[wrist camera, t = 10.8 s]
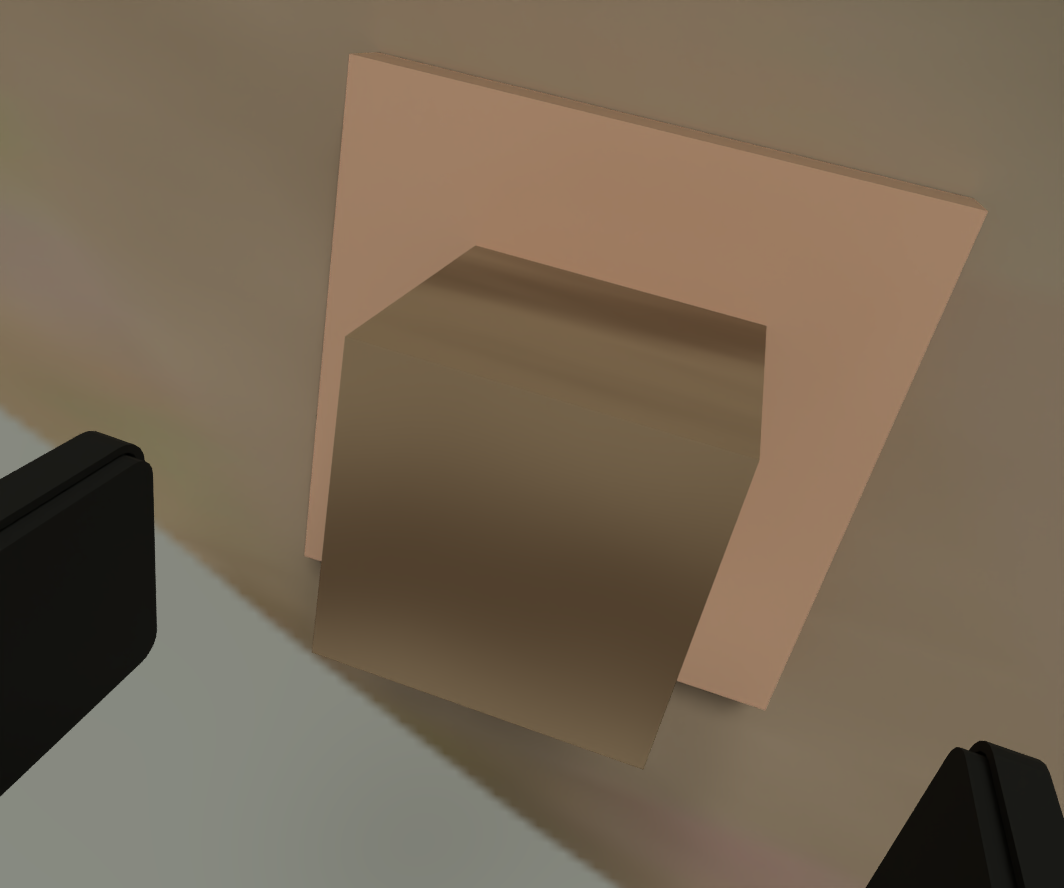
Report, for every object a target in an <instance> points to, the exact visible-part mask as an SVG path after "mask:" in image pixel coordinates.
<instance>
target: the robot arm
mask: <svg viewBox="0 0 1064 888" xmlns="http://www.w3.org/2000/svg"><path fill="white" fill-rule="evenodd" d="M156 633H157V617H156V579H155V537H154V497H153V472H152V468H151V466H150V464H149V463H147V462H145V460H144V454H143V452H142V451H141V449H140V448H139V447H137V446H136V445H134V444H131V443H128V442H125V441H122V440H120V439H117V438H114V437H111V436H108V435H105V434H102V433H99V432H97V431H87V432H85V433H82V434H80V435H78V436H76V437H74V438H73V439H71V440H69V441H67V442H66V443H64V444H62V445H60V446H58V447H57V448H55V449H53V450H51V451H49V452H48V453H46V454H44V455H42V456H41V457H39V458H37V459H35V460H34V461H32V462H30V463H28V464H26V465H25V466H23V467H21V468H19V469H18V470H16V471H14V472H12V473H10V474H9V475H7V476H5V477H3V478H1V479H0V796H1V795H2V794H3V793H4V792H5V791H6V790H7V789H9V788H10V787H11V786H12V785H13V784H14V783H15V782H16V781H17V780H18V779H19V778H20V777H21V776H22V775H23V774H24V773H25V772H26V771H28V770H29V768H31V767H32V766H33V765H34V764H35V763H36V762H37V761H38V760H39V759H40V758H41V757H42V756H43V755H44V754H45V753H47V752H48V751H49V749H51V748H52V747H53V746H54V745H55V744H56V743H57V742H58V741H59V740H60V739H61V738H62V737H63V736H64V735H65V734H66V733H67V732H69V731H70V730H71V729H72V728H73V727H74V726H75V725H76V724H77V723H78V722H79V721H80V720H81V719H82V718H83V717H84V716H85V715H87V713H89V712H90V711H91V710H92V709H93V708H94V707H95V706H96V705H97V704H98V703H99V702H100V701H101V700H102V699H103V698H104V697H105V696H106V695H107V694H109V692H111V691H112V690H113V689H114V688H115V687H116V686H117V685H118V684H119V683H120V682H121V681H122V680H123V679H124V678H125V677H126V676H127V675H129V674H130V673H131V672H132V671H133V670H134V669H135V668H136V667H137V666H138V665H139V664H140V663H141V662H142V661H143V660H144V659H145V658H146V657H147V655H148V654H149V652H150V650H151V648H152V646H153V644H154V642H155V638H156ZM866 888H1064V818H1063V815H1062V811H1061V808H1060V805H1059V802H1058V798H1057V795H1056V792H1055V789H1054V785H1053V782H1052V779H1051V776H1050V773H1049V771H1048V768H1047V766H1046V765H1045V764H1044V763H1043V762H1042V761H1041V760H1038V759H1036V758H1033V757H1030V756H1027V755H1024V754H1021V753H1018V752H1015V751H1013V750H1010V749H1007V748H1004V747H1001V746H998V745H995V744H992V743H990V742H987V741H979V742H977V743H975V744H974V745H973V746H972V747H971V748H970V750H966V749H963V748H960V747H956V748H954V749H953V750H952V751H951V752H950V753H949V754H948V756H947V757H946V759H945V761H944V762H943V764H942V765H941V767H940V769H939V770H938V772H937V774H936V775H935V777H934V778H933V780H932V782H931V783H930V785H929V786H928V788H927V790H926V791H925V793H924V795H923V796H922V798H921V799H920V801H919V803H918V804H917V806H916V807H915V809H914V811H913V812H912V814H911V816H910V817H909V819H908V820H907V822H906V824H905V825H904V827H903V828H902V830H901V832H900V833H899V835H898V836H897V838H896V840H895V841H894V843H893V845H892V846H891V848H890V849H889V851H888V853H887V854H886V856H885V857H884V859H883V861H882V862H881V864H880V866H879V867H878V869H877V870H876V872H875V874H874V875H873V877H872V878H871V880H870V882H869V883H868V885H867V887H866Z"/></svg>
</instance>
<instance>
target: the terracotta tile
mask: <svg viewBox="0 0 1064 888" xmlns="http://www.w3.org/2000/svg"><path fill="white" fill-rule="evenodd" d="M987 213H988V211H987V210H986V209H985V208H984V207H983V206H981V205H980V204H979V203H978V202H977V201H976V200H975V199H973V198H969V197H965V196H961V195H957V194H953V193H949V192H945V191H941V190H937V189H933V188H929V187H925V186H920V185H916V184H912V183H908V182H904V181H900V180H896V179H892V178H888V177H884V176H880V175H876V174H872V173H867V172H863V171H859V170H855V169H851V168H847V167H843V166H839V165H835V164H831V163H827V162H823V161H819V160H814V159H810V158H806V157H802V156H798V155H794V154H790V153H786V152H782V151H778V150H774V149H770V148H766V147H761V146H757V145H753V144H749V143H745V142H741V141H737V140H733V139H729V138H725V137H721V136H717V135H713V134H708V133H704V132H700V131H696V130H692V129H688V128H684V127H680V126H676V125H672V124H668V123H664V122H660V121H655V120H651V119H647V118H643V117H639V116H635V115H631V114H627V113H623V112H619V111H615V110H611V109H607V108H602V107H598V106H594V105H590V104H586V103H582V102H578V101H574V100H570V99H566V98H562V97H558V96H554V95H549V94H545V93H541V92H537V91H533V90H529V89H525V88H521V87H517V86H513V85H509V84H505V83H501V82H496V81H492V80H488V79H484V78H480V77H476V76H472V75H468V74H464V73H460V72H456V71H452V70H448V69H443V68H439V67H435V66H431V65H427V64H423V63H419V62H415V61H411V60H407V59H403V58H399V57H395V56H390V55H386V54H382V53H378V52H374V53H354V54H350V55H349V66H348V77H347V88H346V99H345V110H344V121H343V132H342V144H341V155H340V166H339V177H338V188H337V199H336V210H335V221H334V232H333V244H332V255H331V266H330V277H329V288H328V299H327V310H326V321H325V333H324V344H323V355H322V366H321V377H320V388H319V399H318V410H317V422H316V433H315V444H314V455H313V466H312V477H311V488H310V499H309V510H308V522H307V533H306V544H305V555H304V556H306V557H309V558H312V559H315V560H318V561H322V551H323V542H324V532H325V523H326V513H327V504H328V494H329V485H330V475H331V465H332V456H333V446H334V437H335V427H336V418H337V408H338V399H339V389H340V380H341V370H342V361H343V351H344V342H345V336H346V335H348V334H349V333H351V332H352V331H353V330H355V329H356V328H358V327H359V326H361V325H362V324H364V323H365V322H366V321H368V320H369V319H371V318H372V317H374V316H375V315H376V314H378V313H379V312H381V311H382V310H384V309H385V308H386V307H388V306H389V305H391V304H392V303H394V302H395V301H396V300H398V299H399V298H401V297H402V296H404V295H405V294H406V293H408V292H409V291H411V290H412V289H414V288H415V287H417V286H418V285H419V284H421V283H422V282H424V281H425V280H427V279H428V278H429V277H431V276H432V275H434V274H435V273H437V272H438V271H439V270H441V269H442V268H444V267H445V266H447V265H448V264H449V263H451V262H452V261H454V260H455V259H457V258H458V257H459V256H461V255H462V254H464V253H465V252H467V251H468V250H470V249H471V248H472V247H474V246H475V245H476V246H480V247H483V248H487V249H491V250H494V251H498V252H501V253H505V254H509V255H512V256H516V257H519V258H523V259H527V260H530V261H534V262H538V263H541V264H545V265H548V266H552V267H556V268H559V269H563V270H567V271H570V272H574V273H577V274H581V275H585V276H588V277H592V278H595V279H599V280H603V281H606V282H610V283H614V284H617V285H621V286H624V287H628V288H632V289H635V290H639V291H642V292H646V293H650V294H653V295H657V296H661V297H664V298H668V299H671V300H675V301H679V302H682V303H686V304H689V305H693V306H697V307H700V308H704V309H708V310H711V311H715V312H718V313H722V314H726V315H729V316H733V317H736V318H740V319H744V320H747V321H751V322H755V323H758V324H762V325H765V326H767V328H766V347H765V366H764V385H763V405H762V424H761V443H760V460H759V463H758V466H757V468H756V471H755V474H754V476H753V479H752V482H751V484H750V487H749V490H748V492H747V495H746V498H745V500H744V503H743V506H742V508H741V511H740V514H739V516H738V519H737V522H736V524H735V527H734V530H733V532H732V535H731V537H730V540H729V543H728V545H727V548H726V551H725V553H724V556H723V559H722V561H721V564H720V567H719V569H718V572H717V575H716V577H715V580H714V583H713V585H712V588H711V591H710V593H709V596H708V599H707V601H706V604H705V607H704V609H703V612H702V615H701V617H700V620H699V623H698V625H697V628H696V631H695V633H694V636H693V639H692V641H691V644H690V647H689V649H688V652H687V655H686V657H685V660H684V663H683V665H682V668H681V671H680V673H679V676H678V679H677V681H679V682H682V683H685V684H688V685H691V686H694V687H697V688H700V689H703V690H706V691H709V692H712V693H715V694H718V695H721V696H724V697H727V698H730V699H733V700H736V701H739V702H742V703H745V704H748V705H751V706H754V707H756V708H759V709H762V710H766V707H767V705H768V703H769V701H770V699H771V696H772V694H773V692H774V690H775V687H776V685H777V683H778V681H779V678H780V676H781V674H782V672H783V669H784V667H785V665H786V663H787V660H788V658H789V656H790V654H791V651H792V649H793V647H794V645H795V643H796V640H797V638H798V636H799V634H800V631H801V629H802V627H803V625H804V622H805V620H806V618H807V616H808V613H809V611H810V609H811V607H812V604H813V602H814V600H815V598H816V595H817V593H818V591H819V589H820V587H821V584H822V582H823V580H824V578H825V575H826V573H827V571H828V569H829V566H830V564H831V562H832V560H833V557H834V555H835V553H836V551H837V548H838V546H839V544H840V542H841V540H842V537H843V535H844V533H845V531H846V528H847V526H848V524H849V522H850V519H851V517H852V515H853V513H854V510H855V508H856V506H857V504H858V501H859V499H860V497H861V495H862V492H863V490H864V488H865V486H866V484H867V481H868V479H869V477H870V475H871V472H872V470H873V468H874V466H875V463H876V461H877V459H878V457H879V454H880V452H881V450H882V448H883V445H884V443H885V441H886V439H887V437H888V434H889V432H890V430H891V428H892V425H893V423H894V421H895V419H896V416H897V414H898V412H899V410H900V407H901V405H902V403H903V401H904V398H905V396H906V394H907V392H908V389H909V387H910V385H911V383H912V381H913V378H914V376H915V374H916V372H917V369H918V367H919V365H920V363H921V360H922V358H923V356H924V354H925V351H926V349H927V347H928V345H929V342H930V340H931V338H932V336H933V334H934V331H935V329H936V327H937V325H938V322H939V320H940V318H941V316H942V313H943V311H944V309H945V307H946V304H947V302H948V300H949V298H950V295H951V293H952V291H953V289H954V286H955V284H956V282H957V280H958V278H959V275H960V273H961V271H962V269H963V266H964V264H965V262H966V260H967V257H968V255H969V253H970V251H971V248H972V246H973V244H974V242H975V239H976V237H977V235H978V233H979V231H980V228H981V226H982V224H983V222H984V219H985V217H986V215H987Z"/></svg>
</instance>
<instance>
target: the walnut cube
mask: <svg viewBox="0 0 1064 888" xmlns="http://www.w3.org/2000/svg"><path fill="white" fill-rule="evenodd" d="M766 328H767V326H765V325H762V324H758V323H755V322H751V321H747V320H744V319H740V318H736V317H733V316H729V315H726V314H722V313H718V312H715V311H711V310H708V309H704V308H700V307H697V306H693V305H689V304H686V303H682V302H679V301H675V300H671V299H668V298H664V297H661V296H657V295H653V294H650V293H646V292H642V291H639V290H635V289H632V288H628V287H624V286H621V285H617V284H614V283H610V282H606V281H603V280H599V279H595V278H592V277H588V276H585V275H581V274H577V273H574V272H570V271H567V270H563V269H559V268H556V267H552V266H548V265H545V264H541V263H538V262H534V261H530V260H527V259H523V258H519V257H516V256H512V255H509V254H505V253H501V252H498V251H494V250H491V249H487V248H483V247H480V246H476V245H475V246H474V247H472V248H471V249H470V250H468V251H467V252H465V253H464V254H462V255H461V256H459V257H458V258H457V259H455V260H454V261H452V262H451V263H449V264H448V265H447V266H445V267H444V268H442V269H441V270H439V271H438V272H437V273H435V274H434V275H432V276H431V277H429V278H428V279H427V280H425V281H424V282H422V283H421V284H419V285H418V286H417V287H415V288H414V289H412V290H411V291H409V292H408V293H406V294H405V295H404V296H402V297H401V298H399V299H398V300H396V301H395V302H394V303H392V304H391V305H389V306H388V307H386V308H385V309H384V310H382V311H381V312H379V313H378V314H376V315H375V316H374V317H372V318H371V319H369V320H368V321H366V322H365V323H364V324H362V325H361V326H359V327H358V328H356V329H355V330H353V331H352V332H351V333H349V334H348V335H346V336H345V342H344V351H343V361H342V370H341V380H340V389H339V399H338V408H337V418H336V427H335V437H334V446H333V456H332V465H331V475H330V485H329V494H328V504H327V513H326V523H325V532H324V542H323V551H322V561H321V570H320V580H319V589H318V599H317V608H316V618H315V627H314V637H313V647H312V653H315V654H318V655H321V656H324V657H326V658H329V659H332V660H335V661H338V662H341V663H343V664H346V665H349V666H352V667H355V668H358V669H360V670H363V671H366V672H369V673H372V674H375V675H377V676H380V677H383V678H386V679H389V680H391V681H394V682H397V683H400V684H403V685H406V686H408V687H411V688H414V689H417V690H420V691H423V692H425V693H428V694H431V695H434V696H437V697H440V698H442V699H445V700H448V701H451V702H454V703H457V704H459V705H462V706H465V707H468V708H471V709H473V710H476V711H479V712H482V713H485V714H488V715H490V716H493V717H496V718H499V719H502V720H505V721H507V722H510V723H513V724H516V725H519V726H522V727H524V728H527V729H530V730H533V731H536V732H538V733H541V734H544V735H547V736H550V737H553V738H555V739H558V740H561V741H564V742H567V743H570V744H572V745H575V746H578V747H581V748H584V749H587V750H589V751H592V752H595V753H598V754H601V755H603V756H606V757H609V758H612V759H615V760H618V761H620V762H623V763H626V764H629V765H632V766H635V767H637V768H640V769H644V766H645V764H646V761H647V758H648V756H649V753H650V750H651V748H652V745H653V742H654V740H655V737H656V734H657V732H658V729H659V726H660V724H661V721H662V718H663V716H664V713H665V710H666V708H667V705H668V702H669V700H670V697H671V695H672V692H673V689H674V687H675V684H676V681H677V679H678V676H679V673H680V671H681V668H682V665H683V663H684V660H685V657H686V655H687V652H688V649H689V647H690V644H691V641H692V639H693V636H694V633H695V631H696V628H697V625H698V623H699V620H700V617H701V615H702V612H703V609H704V607H705V604H706V601H707V599H708V596H709V593H710V591H711V588H712V585H713V583H714V580H715V577H716V575H717V572H718V569H719V567H720V564H721V561H722V559H723V556H724V553H725V551H726V548H727V545H728V543H729V540H730V537H731V535H732V532H733V530H734V527H735V524H736V522H737V519H738V516H739V514H740V511H741V508H742V506H743V503H744V500H745V498H746V495H747V492H748V490H749V487H750V484H751V482H752V479H753V476H754V474H755V471H756V468H757V466H758V463H759V460H760V443H761V424H762V405H763V385H764V366H765V347H766Z"/></svg>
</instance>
